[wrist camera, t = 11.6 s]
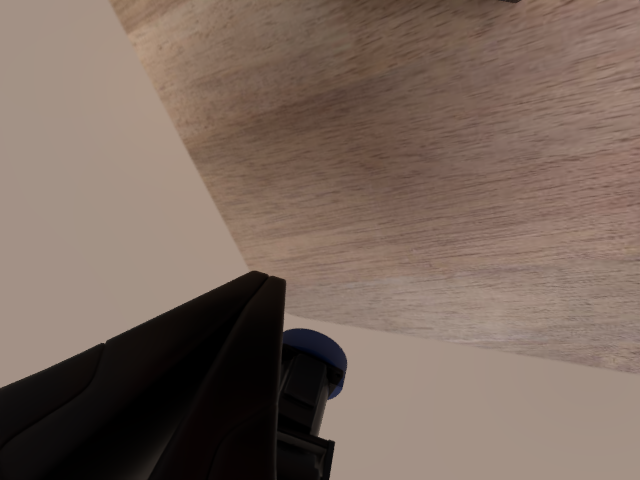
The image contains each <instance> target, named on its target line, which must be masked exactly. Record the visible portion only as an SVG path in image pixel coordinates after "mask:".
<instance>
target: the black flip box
mask: <svg viewBox="0 0 640 480" xmlns="http://www.w3.org/2000/svg"><path fill="white" fill-rule="evenodd" d="M500 1H506V2H512V3H517V2H519V1H521V0H500Z"/></svg>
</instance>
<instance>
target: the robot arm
mask: <svg viewBox="0 0 640 480" xmlns="http://www.w3.org/2000/svg"><path fill="white" fill-rule="evenodd" d="M285 294H286V280H285V279H282V278H279V277H275V276H269V275H268V274H265V273H262V272H259V271H251V272H249V273H247V274H245V275H243V276H240V277H238V278H236V279H235V280H232V281H230V282H228V283H226V284H224V285H222V286H220V287H218V288H216V289H213V290H211V291H209V292H207V293H205V294H203V295H201V296H199V297H197V298H195V299H193V300H191V301H188V302H186V303H184V304H182V305H180V306H178V307H176V308H174V309H172V310H170V311H168V312H165V313H163V314H161V315H159V316H157V317H155V318H153V319H151V320H149V321H147V322H145V323H143V324H140V325H138V326H136V327H134V328H132V329H130V330H128V331H126V332H124V333H122V334H120V335H118V336H115V337H113V338H111V339H109V340H107V341H106V343H105V344H104V343H101V344H98V345H96V346H94V347H92V348H90V349H88V350H86V351H84V352H82V353H80V354H77V355H75V356H73V357H71V358H69V359H66V360H64V361H62V362H60V363H58V364H56V365H54V366H51V367H49V368H47V369H45V370H42V371H40V372H38V373H35V374H33V375H30V376H28V377H26V378H24V379H21V380H19V381H16V382H14V383H11V384H9V385H7V386H4V387H2V388H0V480H329V478H330V471H331V464H332V458H333V452H334V446H335V442H334V441H331V440H325V439H322V438H320V437H318V434H319V430H320V426H321V422H322V418H323V414H324V410H325V406H326V402H327V399H328V398H329V397H330V395H331V394H332V392H333V391H334V389H335V388H336V386H337V385H338V384H339V382H340V381H341V379H342V378H343V374H344V371H343V370H342V369H340V368H338V367H336V366H334V365H331V364H329V363H327V362H325V361H323V360H320V359H318V358H316V357H314V356H312V355H310V354H307V353H305V352H303V351H301V350H299V349H297V348H294V347H292V346H290V345H288V344H285V343H283V344H282V340H283V324H284V309H285Z"/></svg>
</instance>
